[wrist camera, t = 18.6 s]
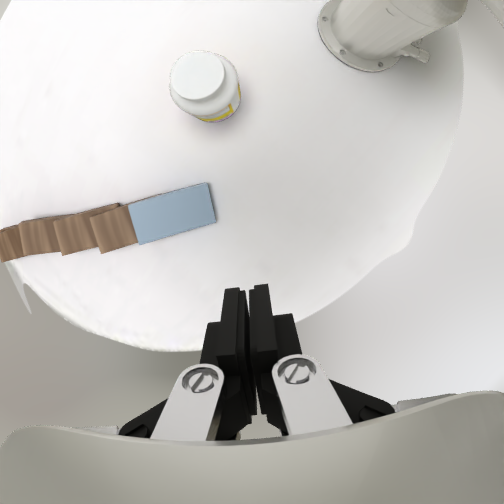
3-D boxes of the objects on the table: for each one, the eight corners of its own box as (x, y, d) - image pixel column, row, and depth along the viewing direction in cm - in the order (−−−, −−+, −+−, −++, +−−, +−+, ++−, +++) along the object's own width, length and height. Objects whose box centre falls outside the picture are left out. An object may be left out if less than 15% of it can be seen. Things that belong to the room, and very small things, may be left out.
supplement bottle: (205, 66, 30) (184, 29, 18) (250, 88, 32) (252, 58, 19) (178, 109, 32) (145, 92, 20) (223, 132, 33) (211, 123, 21)
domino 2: (75, 216, 35) (18, 223, 31) (79, 249, 36) (23, 255, 33) (77, 213, 37) (23, 220, 33) (81, 245, 38) (28, 251, 35)
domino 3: (116, 204, 34) (53, 222, 32) (124, 240, 36) (62, 255, 34) (118, 202, 36) (57, 219, 34) (126, 236, 38) (66, 251, 36)
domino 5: (207, 183, 34) (127, 206, 31) (216, 222, 36) (139, 245, 33) (204, 182, 36) (129, 204, 33) (212, 219, 37) (139, 241, 35)
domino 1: (23, 224, 33) (-7, 236, 34) (32, 254, 35) (1, 262, 35) (31, 220, 35) (0, 232, 36) (39, 249, 37) (8, 258, 37)
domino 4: (161, 194, 34) (89, 218, 32) (171, 232, 36) (101, 254, 34) (161, 193, 36) (92, 215, 34) (170, 229, 38) (103, 249, 36)
